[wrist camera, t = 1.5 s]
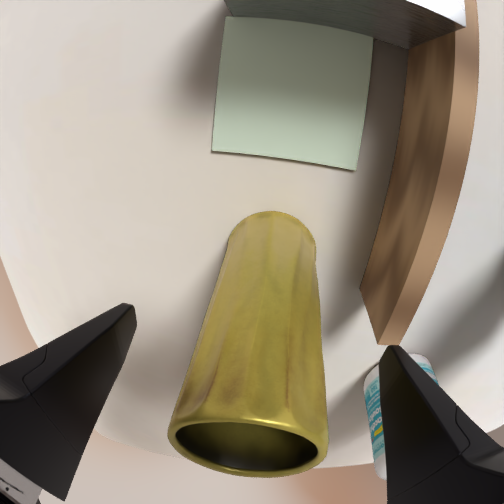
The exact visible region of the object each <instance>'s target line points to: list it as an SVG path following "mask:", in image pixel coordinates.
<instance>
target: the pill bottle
mask: <svg viewBox="0 0 504 504" xmlns="http://www.w3.org/2000/svg"><path fill="white" fill-rule="evenodd" d="M408 354H409V355H410V356H411V357H412V358H413V360H414V361H415V362H416V363H417V364H418V365H419V366H420V367H421V368H422V369H423V370H424V371H425V372H426V373H427V374H428V375H429V376H430V377H431V378H432V379H433V380H434V381H435V382H436V383H437V384H438V382H437V379H436V377H435V374H434V371H433V369H432V367H431V364H430V362H429V361H428V359H427V358H425V357H424V356H422V355H419V354H414V353H408ZM364 395H365V401H366V408H367V414H368V420H369V427H370V433H371V441H372V449H373V457H374V466H375V471H376V473H377V475H378V476H379V477H380V478H381V479H383V480H386V481H387V476H386V459H385V446H384V435H383V425H382V416H381V408H380V391H379V364H378V365H377V366H376V367H375V368H374V369H372V370H371V372H370V373H369V374H368V375H367V377H366V379H365V381H364Z"/></svg>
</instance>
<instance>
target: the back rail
mask: <svg viewBox="0 0 504 504" xmlns="http://www.w3.org/2000/svg"><path fill="white" fill-rule="evenodd" d="M464 3H465V16H466V28H463V29H460V30H457V31H454V32H451V33H449V34H446V35H443V36H441V37H438V38H436V39H433V40H430V41H428V42H426V43H423V44H421V45H418V46H416V47H414V48H411V49H409V52H408V66H407V77H406V87H405V95H404V103H403V111H402V118H401V124H400V131H399V137H398V142H397V148H396V153H395V158H394V163H393V168H392V173H391V178H390V182H389V187H388V191H387V195H386V199H385V203H384V207H383V211H382V215H381V219H380V223H379V227H378V230H377V234H376V237H375V241H374V244H373V248H372V251H371V254H370V258H369V261H368V264H367V267H366V270H365V274H364V277H363V280H362V283H361V286H360V292H361V295H362V297H363V300H364V303H365V306H366V309H367V312H368V315H369V319H370V322H371V325H372V328H373V331H374V335H375V338H376V341H377V344H378V345H399V344H400V342H401V340H402V338H403V337H404V335H405V333H406V331H407V329H408V327H409V325H410V323H411V321H412V319H413V317H414V315H415V313H416V311H417V309H418V306H419V304H420V302H421V300H422V298H423V296H424V293H425V291H426V289H427V286H428V284H429V282H430V279H431V277H432V275H433V272H434V270H435V267H436V265H437V262H438V259H439V257H440V254H441V251H442V249H443V246H444V243H445V240H446V237H447V234H448V231H449V228H450V225H451V222H452V219H453V216H454V212H455V209H456V205H457V202H458V198H459V195H460V191H461V187H462V183H463V179H464V174H465V170H466V166H467V161H468V156H469V151H470V145H471V140H472V134H473V127H474V120H475V112H476V103H477V92H478V77H479V26H478V12H477V2H476V0H464Z"/></svg>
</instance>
